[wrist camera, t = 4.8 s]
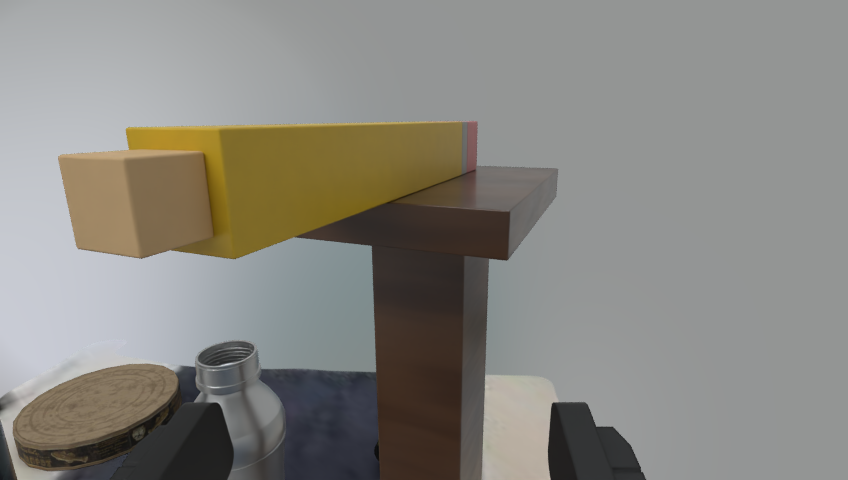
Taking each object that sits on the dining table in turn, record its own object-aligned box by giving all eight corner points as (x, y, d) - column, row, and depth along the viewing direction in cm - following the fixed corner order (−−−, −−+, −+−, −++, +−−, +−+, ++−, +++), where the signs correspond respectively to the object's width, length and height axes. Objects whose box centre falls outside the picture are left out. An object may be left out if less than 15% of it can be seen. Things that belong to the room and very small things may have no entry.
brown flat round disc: (177, 371, 65) (174, 352, 64) (187, 436, 51) (183, 412, 51) (33, 407, 57) (28, 386, 56) (1, 494, 44) (-7, 467, 43)
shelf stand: (479, 888, 21) (510, 210, 13) (301, 775, 25) (236, 191, 17) (525, 628, 32) (558, 168, 24) (396, 576, 36) (385, 162, 27)
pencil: (162, 287, 7) (137, 129, 7) (65, 268, 8) (34, 129, 7) (476, 169, 23) (477, 121, 23) (432, 168, 24) (432, 121, 24)
